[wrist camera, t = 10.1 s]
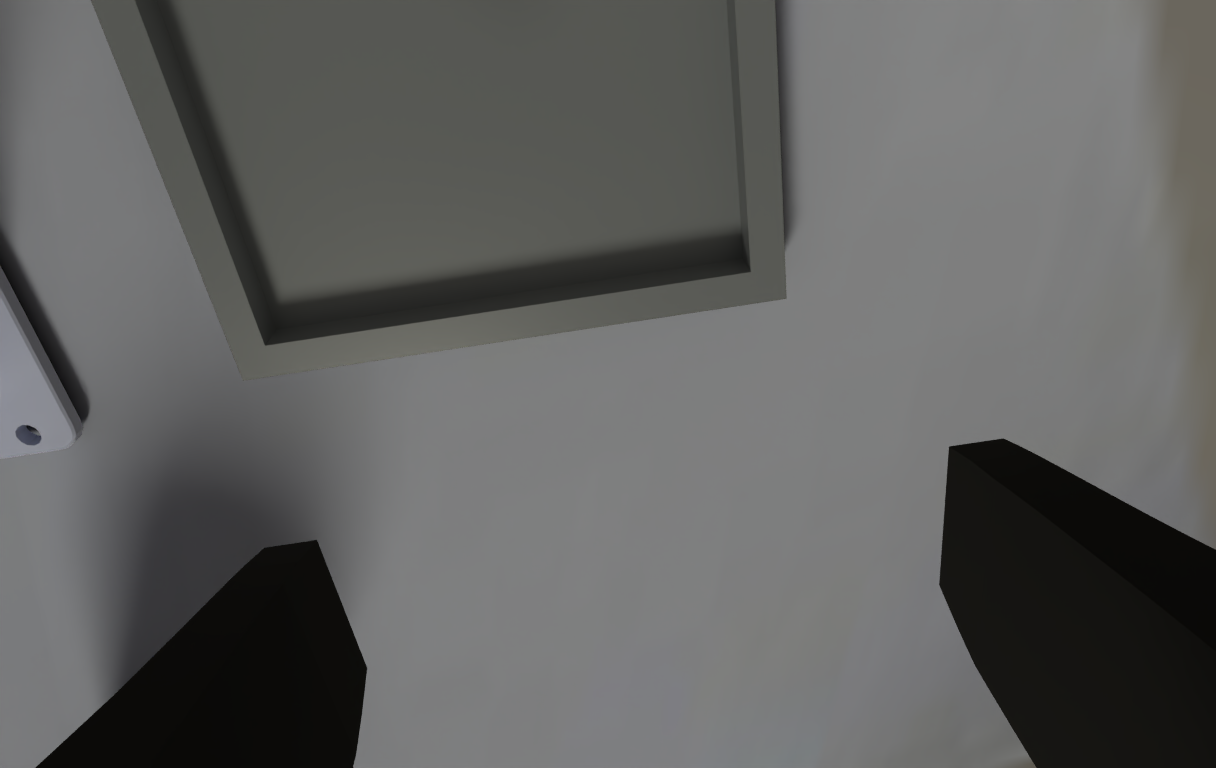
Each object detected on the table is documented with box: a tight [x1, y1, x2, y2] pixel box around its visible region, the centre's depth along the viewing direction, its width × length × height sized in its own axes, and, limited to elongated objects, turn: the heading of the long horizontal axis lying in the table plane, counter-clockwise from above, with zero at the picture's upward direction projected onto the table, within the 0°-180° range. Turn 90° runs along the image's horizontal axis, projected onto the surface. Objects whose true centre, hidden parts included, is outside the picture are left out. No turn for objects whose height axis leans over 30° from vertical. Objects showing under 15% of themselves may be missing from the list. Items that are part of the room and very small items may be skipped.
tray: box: [91, 0, 786, 381], centre depth 15 cm, size 11×11×1 cm
